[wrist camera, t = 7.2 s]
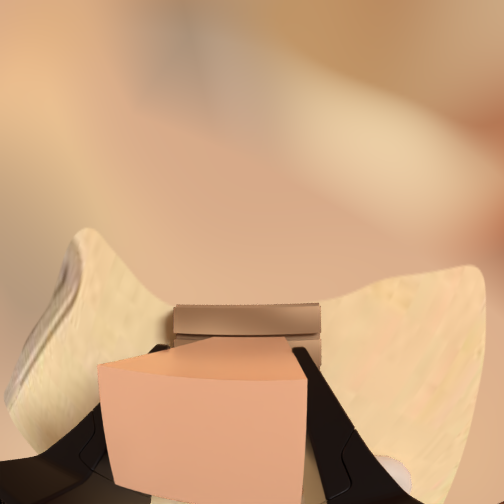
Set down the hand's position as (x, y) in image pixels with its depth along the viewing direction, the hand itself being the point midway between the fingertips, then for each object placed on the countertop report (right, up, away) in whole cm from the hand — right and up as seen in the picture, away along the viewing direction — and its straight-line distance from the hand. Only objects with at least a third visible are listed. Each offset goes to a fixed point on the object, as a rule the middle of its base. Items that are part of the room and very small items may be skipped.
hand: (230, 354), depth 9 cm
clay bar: (+1, -3, +6) cm, 7 cm away
